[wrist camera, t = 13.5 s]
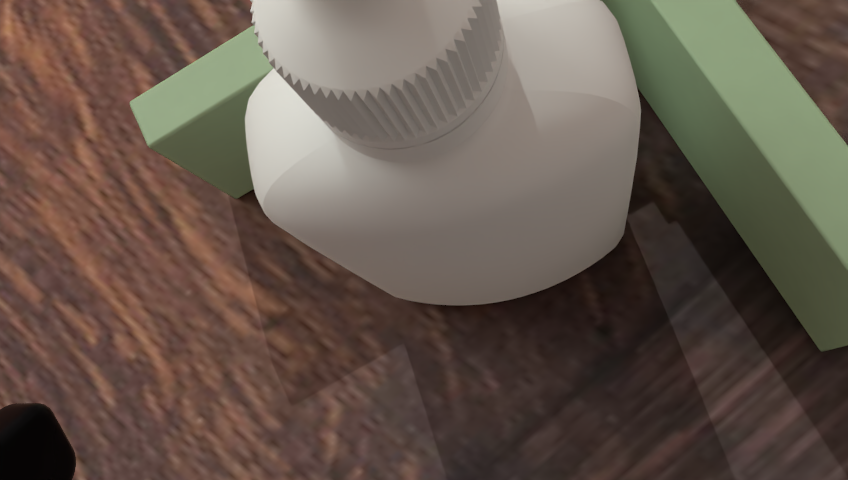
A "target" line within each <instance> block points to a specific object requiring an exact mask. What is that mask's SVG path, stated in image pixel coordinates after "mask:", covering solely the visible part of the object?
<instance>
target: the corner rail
mask: <svg viewBox="0 0 848 480" xmlns="http://www.w3.org/2000/svg"><path fill="white" fill-rule="evenodd" d="M600 1H603V2H604V4H605V5H606V6H607V7H608V9H609V10H610V11H611V13H612V14H613V15H614V17H615V18H616V19H617V22H618V24H619V27H620V30H621V33H622V35H623V38H624V41H625V45H626V48H627V51H628V55H629V58H630V62H631V65H632V69H633V73H634V76H635V80H636V85H637V87H638V89H639V90H640V92H641V93H642V94H643V96H644V97H645V99H646V100H647V102H648V103H649V105H650V106H651V107H652V109H653V110H654V112H655V113H656V115H657V116H658V118H659V119H660V120H661V122H662V123H663V125H664V126H665V128H666V129H667V131H668V132H669V133H670V135H671V136H672V138H673V139H674V141H675V142H676V144H677V145H678V146H679V148H680V149H681V151H682V152H683V154H684V155H685V157H686V158H687V159H688V161H689V162H690V164H691V165H692V167H693V168H694V170H695V171H696V172H697V174H698V175H699V177H700V178H701V180H702V181H703V183H704V184H705V185H706V187H707V188H708V190H709V191H710V193H711V194H712V196H713V197H714V198H715V200H716V201H717V203H718V204H719V206H720V207H721V209H722V210H723V211H724V213H725V214H726V216H727V217H728V219H729V220H730V222H731V223H732V224H733V226H734V227H735V229H736V230H737V232H738V233H739V235H740V236H741V237H742V239H743V240H744V242H745V243H746V245H747V246H748V248H749V249H750V250H751V252H752V253H753V255H754V256H755V258H756V259H757V260H758V262H759V263H760V265H761V266H762V268H763V269H764V271H765V272H766V273H767V275H768V276H769V278H770V279H771V281H772V282H773V284H774V285H775V286H776V288H777V289H778V291H779V292H780V294H781V295H782V297H783V298H784V299H785V301H786V302H787V304H788V305H789V307H790V308H791V310H792V311H793V312H794V314H795V315H796V317H797V318H798V320H799V321H800V323H801V324H802V325H803V327H804V328H805V330H806V331H807V333H808V334H809V336H810V337H811V338H812V340H813V341H814V343H815V344H816V346H817V347H818V349H819V350H820V351H827V350H831V349H835V348H839V347H843V346H847V345H848V145H847V144H846V143H845V142H844V140H843V139H842V138H841V136H840V135H839V134H838V133H837V131H836V130H835V129H834V127H833V126H832V125H831V124H830V122H829V121H828V120H827V118H826V117H825V116H824V114H823V113H822V112H821V111H820V109H819V108H818V107H817V105H816V104H815V103H814V102H813V100H812V99H811V98H810V96H809V95H808V94H807V92H806V91H805V90H804V89H803V87H802V86H801V85H800V83H799V82H798V81H797V80H796V78H795V77H794V76H793V74H792V73H791V72H790V71H789V69H788V68H787V67H786V65H785V64H784V63H783V61H782V60H781V59H780V58H779V56H778V55H777V54H776V52H775V51H774V50H773V49H772V47H771V46H770V45H769V43H768V42H767V41H766V39H765V38H764V37H763V36H762V34H761V33H760V32H759V30H758V29H757V28H756V27H755V25H754V24H753V23H752V21H751V20H750V19H749V18H748V16H747V15H746V14H745V12H744V11H743V10H742V8H741V7H740V6H739V5H738V3H737V2H736V1H735V0H600ZM254 30H255V26H254V25H253V26H252V27H250V28H248V29H247V30H245V31H243V32H242V33H240V34H239V35H237V36H235V37H234V38H232V39H231V40H229V41H227V42H226V43H224V44H222V45H221V46H219V47H218V48H216V49H214V50H213V51H211V52H209V53H208V54H206V55H205V56H203V57H201V58H200V59H198V60H197V61H195V62H193V63H192V64H190V65H188V66H187V67H185V68H184V69H182V70H180V71H179V72H177V73H175V74H174V75H172V76H171V77H169V78H167V79H166V80H164V81H163V82H161V83H159V84H158V85H156V86H154V87H153V88H151V89H150V90H148V91H146V92H145V93H143V94H142V95H140V96H138V97H137V98H135V99H133V100H132V101H131V102H130V106H131V109H132V111H133V113H134V115H135V118H136V120H137V122H138V124H139V127H140V129H141V131H142V134H143V136H144V138H145V140H146V143H147V145H148V147H149V148H151V149H152V150H154V151H156V152H158V153H159V154H161V155H163V156H164V157H166V158H168V159H169V160H171V161H173V162H174V163H176V164H178V165H179V166H181V167H183V168H184V169H186V170H188V171H190V172H191V173H193V174H195V175H196V176H198V177H200V178H201V179H203V180H205V181H206V182H208V183H210V184H211V185H213V186H215V187H217V188H218V189H220V190H222V191H223V192H225V193H227V194H228V195H230V196H232V197H233V198H235V199H236V198H239V197H241V196H242V195H244V194H246V193H247V192H249V191H251V190H253V189H254V186H253V182H252V177H251V172H250V165H249V159H248V151H247V143H246V131H245V115H246V110H247V105H248V100H249V98H250V96H251V95H252V93H253V92H254V90H255V88H256V87H257V85H258V84H259V83H260V82H261V81H262V80H263V79H264V77H265V76H266V75H267V74H268V73H269V72H270V71H271V70H272V69H273V67H272V66H271V64H270V63H269V60H268V59H267V58H266V56H265V55H264V54H263V49H262V48H261V47H260V46H259V44H258V37H257V36H256V35H255V34H254Z"/></svg>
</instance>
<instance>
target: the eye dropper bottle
mask: <svg viewBox="0 0 848 480" xmlns="http://www.w3.org/2000/svg"><path fill="white" fill-rule="evenodd" d="M250 1H251V2H252V7H251V10H250V12H251V13H252V14H253V18H252V24H253V25H254V26H255V30H254V34H255V35H256V36H257V37H258V44H259V46H260V47H261V48H262V49H263V54H264V55H265V56H266V58H267V59H268V60H269V63H270V64H271V66H272V67H273V69H272V70H271V71H270V72H269V73H268V74H267V75H266V76H265V77H264V79H263V80H262V81H261V82H260V83H259V84H258V85H257V87H256V88H255V90H254V92H253V93H252V95H251V96H250V98H249V100H248V105H247V110H246V115H245V131H246V143H247V151H248V159H249V165H250V172H251V177H252V182H253V186H254V191H255V194H256V197H257V199H258V201H259V203H260V205H261V207H262V209H263V211H264V213H265V215H266V216H267V217H268V218H269V219H270V220H271V221H272V222H273V223H274V224H276V225H277V226H279V227H280V228H282V229H283V230H285V231H286V232H288V233H289V234H291V235H292V236H294V237H295V238H297V239H298V240H300V241H301V242H303V243H305V244H306V245H308V246H309V247H311V248H312V249H314V250H316V251H317V252H319V253H321V254H322V255H324V256H326V257H328V258H329V259H331V260H333V261H334V262H336V263H338V264H339V265H341V266H343V267H344V268H346V269H348V270H349V271H351V272H353V273H354V274H356V275H358V276H360V277H361V278H363V279H365V280H366V281H368V282H370V283H372V284H373V285H375V286H377V287H378V288H380V289H382V290H384V291H385V292H387V293H389V294H391V295H392V296H394V297H397V298H401V299H405V300H409V301H414V302H420V303H427V304H437V305H479V304H488V303H496V302H501V301H506V300H511V299H515V298H519V297H523V296H526V295H529V294H533V293H536V292H539V291H541V290H544V289H546V288H549V287H551V286H554V285H556V284H558V283H560V282H563V281H565V280H567V279H568V278H570V277H572V276H574V275H576V274H578V273H580V272H581V271H583V270H585V269H586V268H588V267H590V266H591V265H593V264H594V263H595V262H597V261H598V260H600V259H601V258H603V257H604V256H605V255H607V254H608V253H609V252H610V251H611V250H613V249H614V248H615V247H616V246H617V244H618V243H619V241H620V240H621V238H622V237H623V234H624V230H625V225H626V219H627V214H628V208H629V202H630V197H631V191H632V185H633V178H634V172H635V166H636V160H637V152H638V142H639V132H640V119H641V106H640V99H639V94H638V89H637V85H636V80H635V76H634V73H633V69H632V65H631V62H630V58H629V55H628V51H627V48H626V45H625V41H624V38H623V35H622V33H621V30H620V27H619V24H618V22H617V19H616V18H615V17H614V15H613V14H612V13H611V11H610V10H609V9H608V7H607V6H606V5H605V4H604V2H603V1H600V0H250Z"/></svg>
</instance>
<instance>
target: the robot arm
mask: <svg viewBox="0 0 848 480" xmlns="http://www.w3.org/2000/svg"><path fill="white" fill-rule="evenodd" d="M75 467H76V457H75V452H74V450H73V448H72V446H71V444H70V442H69V441H68V439H67V437H66V435H65V433H64V432H63V430H62V428H61V426H60V424H59V423H58V421H57V419H56V417H55V415H54V414H53V412H52V411H51V409H50V408H49V407H47V406H46V405H44V404H40V403H26V404H11V405H8V406H6V407H4V408H2V409H0V480H72V478H73V475H74V472H75Z"/></svg>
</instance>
